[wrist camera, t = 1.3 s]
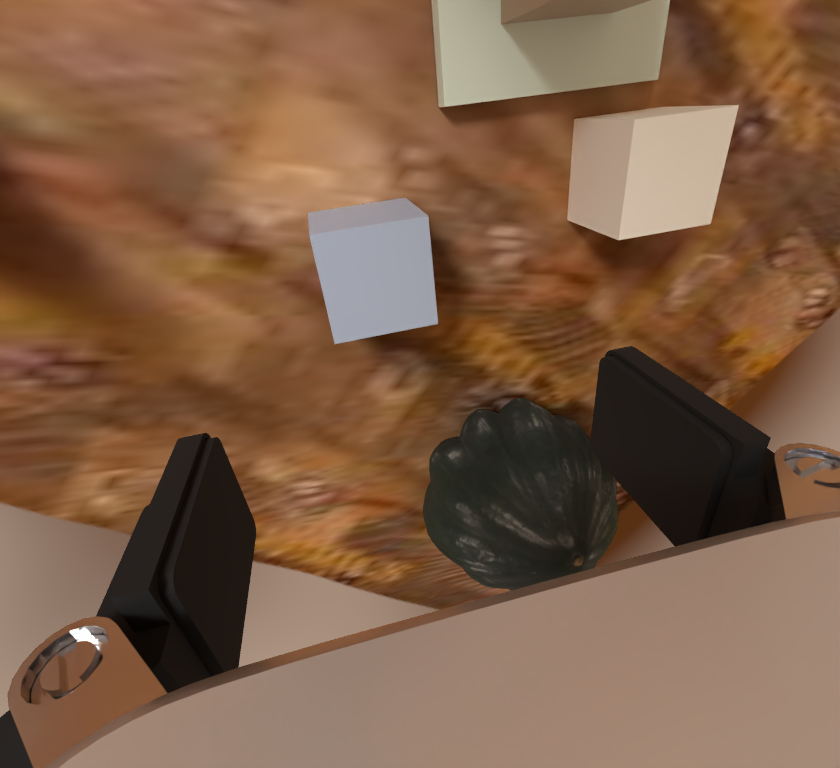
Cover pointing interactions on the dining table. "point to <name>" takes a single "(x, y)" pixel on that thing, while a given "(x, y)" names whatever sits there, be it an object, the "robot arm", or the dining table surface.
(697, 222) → the cream brick
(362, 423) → the dining table surface
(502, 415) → the squash
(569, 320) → the dining table surface
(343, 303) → the slate brick
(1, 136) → the dining table surface
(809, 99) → the dining table surface
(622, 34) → the baseplate
